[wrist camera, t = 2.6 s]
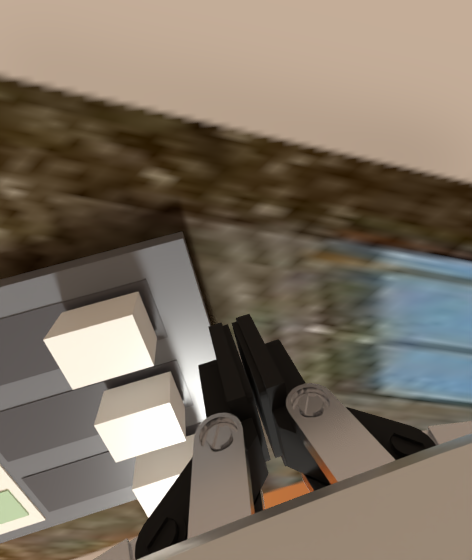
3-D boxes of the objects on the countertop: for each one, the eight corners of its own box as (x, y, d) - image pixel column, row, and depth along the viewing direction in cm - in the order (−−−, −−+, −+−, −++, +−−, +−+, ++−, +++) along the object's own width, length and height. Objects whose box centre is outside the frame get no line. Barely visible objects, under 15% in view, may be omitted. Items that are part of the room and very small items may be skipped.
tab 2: (170, 371, 19) (169, 402, 16) (184, 407, 20) (185, 440, 18) (104, 391, 18) (93, 425, 16) (122, 425, 20) (115, 462, 17)
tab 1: (138, 291, 16) (132, 314, 14) (156, 337, 18) (154, 365, 15) (61, 312, 16) (43, 339, 14) (86, 357, 17) (72, 389, 15)
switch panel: (182, 231, 17) (183, 239, 16) (247, 444, 25) (252, 464, 23) (-198, 331, 16) (-237, 351, 15) (-7, 525, 24) (-20, 552, 22)
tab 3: (195, 433, 21) (197, 468, 19) (206, 462, 22) (210, 498, 20) (136, 452, 21) (131, 489, 18) (151, 479, 22) (148, 518, 20)
